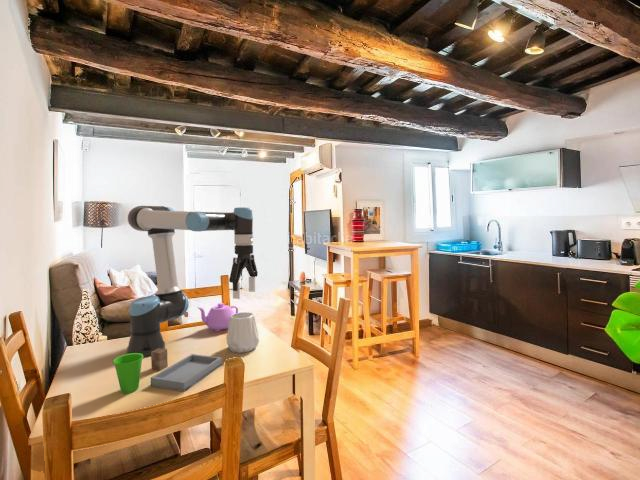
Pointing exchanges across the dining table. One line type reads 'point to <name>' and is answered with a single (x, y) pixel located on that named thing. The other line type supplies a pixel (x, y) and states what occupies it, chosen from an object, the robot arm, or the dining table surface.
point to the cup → (128, 371)
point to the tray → (186, 372)
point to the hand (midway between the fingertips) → (244, 295)
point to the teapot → (218, 317)
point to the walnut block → (159, 359)
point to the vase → (242, 332)
